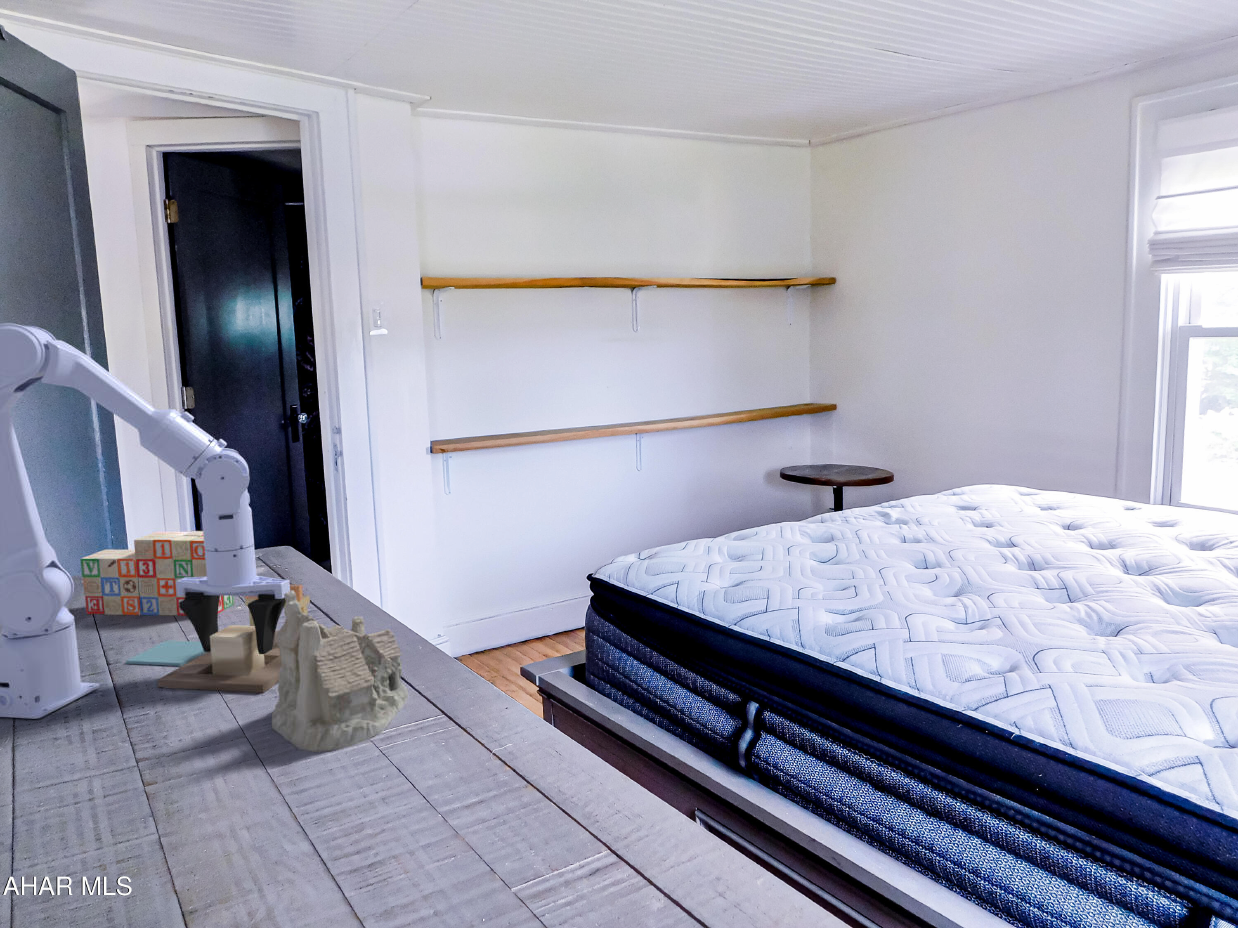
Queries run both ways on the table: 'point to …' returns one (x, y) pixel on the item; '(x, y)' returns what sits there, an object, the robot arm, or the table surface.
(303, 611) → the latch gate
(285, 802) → the table surface
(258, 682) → the puzzle board
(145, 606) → the stack of blocks
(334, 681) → the ceramic cottage
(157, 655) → the teal square plate
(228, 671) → the birch block
